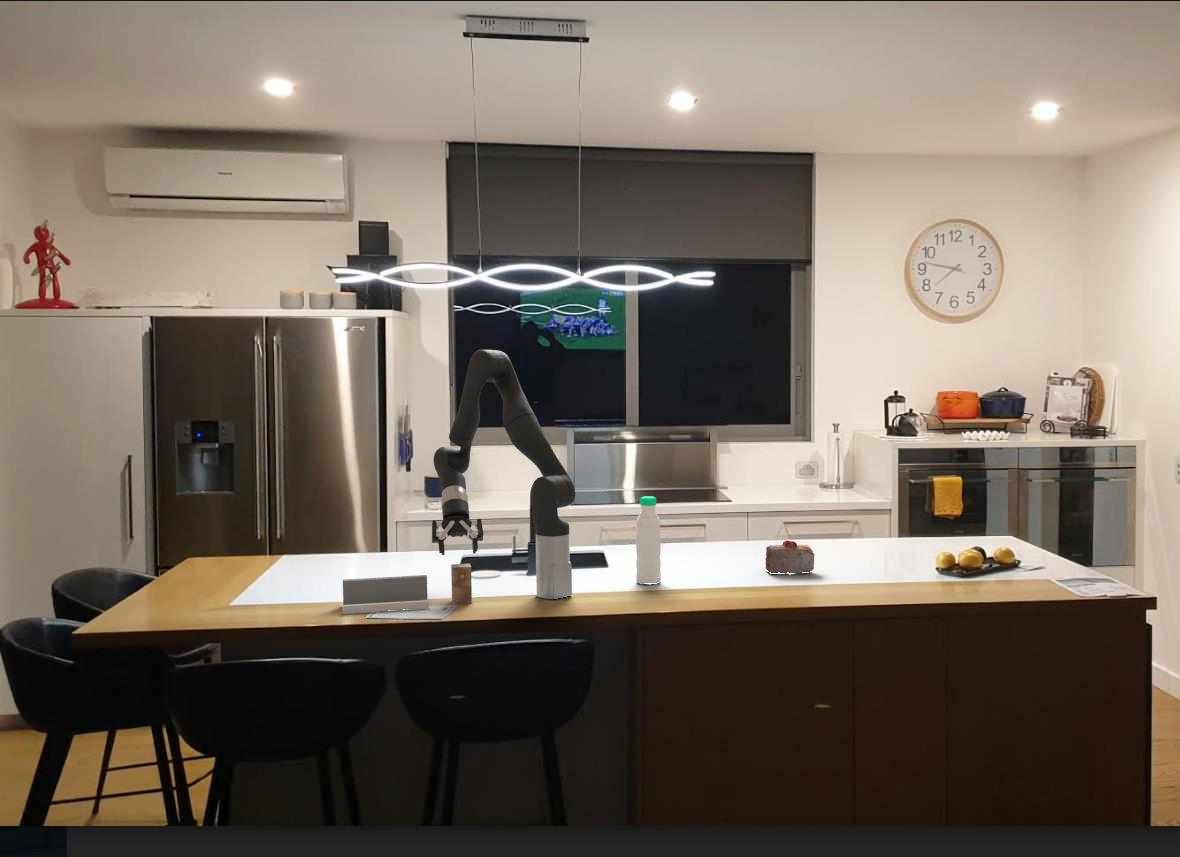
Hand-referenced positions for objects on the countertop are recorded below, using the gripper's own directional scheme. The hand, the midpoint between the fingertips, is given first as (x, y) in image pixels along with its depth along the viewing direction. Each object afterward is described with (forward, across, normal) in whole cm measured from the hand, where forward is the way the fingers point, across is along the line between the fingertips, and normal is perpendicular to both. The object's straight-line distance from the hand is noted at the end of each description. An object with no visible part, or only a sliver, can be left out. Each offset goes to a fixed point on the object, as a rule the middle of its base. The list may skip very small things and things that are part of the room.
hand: (458, 552), depth 272 cm
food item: (+6, +99, +11) cm, 100 cm away
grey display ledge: (+14, -20, +3) cm, 25 cm away
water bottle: (+7, +54, +10) cm, 56 cm away
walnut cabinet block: (+14, 0, +3) cm, 14 cm away
